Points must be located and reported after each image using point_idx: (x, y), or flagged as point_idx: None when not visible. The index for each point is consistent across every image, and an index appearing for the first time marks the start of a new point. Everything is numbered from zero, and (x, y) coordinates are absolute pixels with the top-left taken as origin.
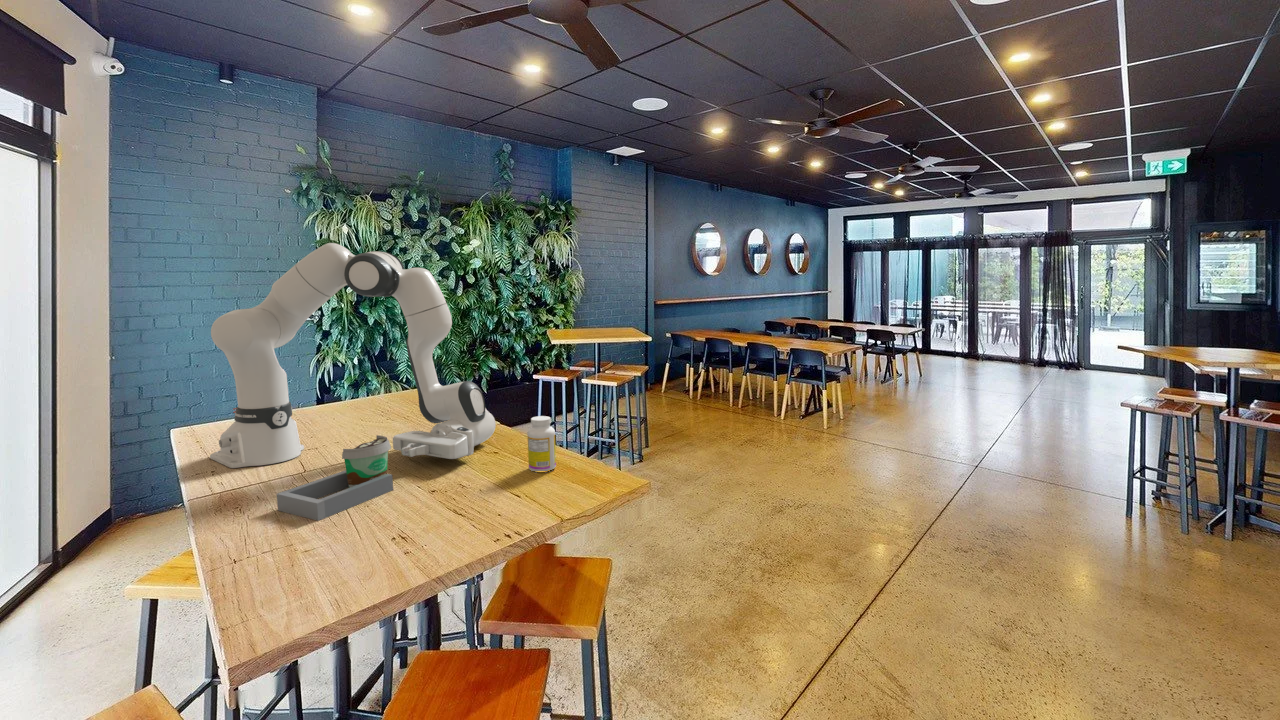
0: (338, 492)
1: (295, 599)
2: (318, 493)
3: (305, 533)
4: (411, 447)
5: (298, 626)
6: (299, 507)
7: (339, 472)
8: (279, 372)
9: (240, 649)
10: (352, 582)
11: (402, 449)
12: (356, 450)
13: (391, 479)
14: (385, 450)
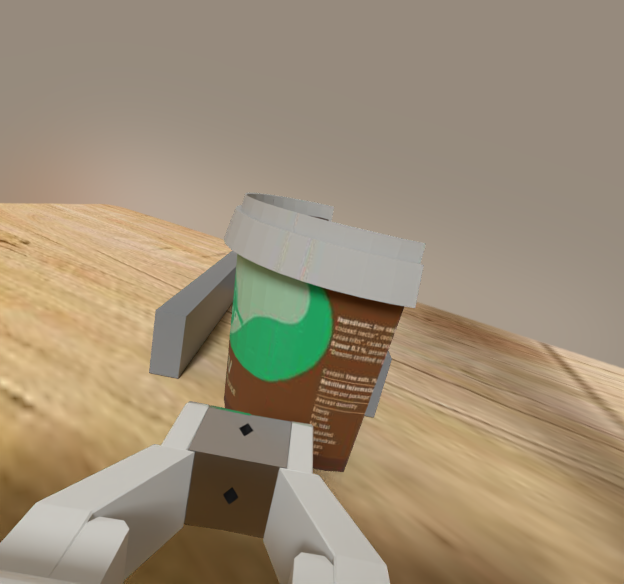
0: (234, 264)
1: (110, 217)
2: None
3: None
4: (232, 455)
5: (81, 206)
6: None
7: None
8: None
9: (115, 206)
10: (55, 216)
11: (299, 425)
12: (290, 205)
13: (156, 327)
14: (226, 232)
